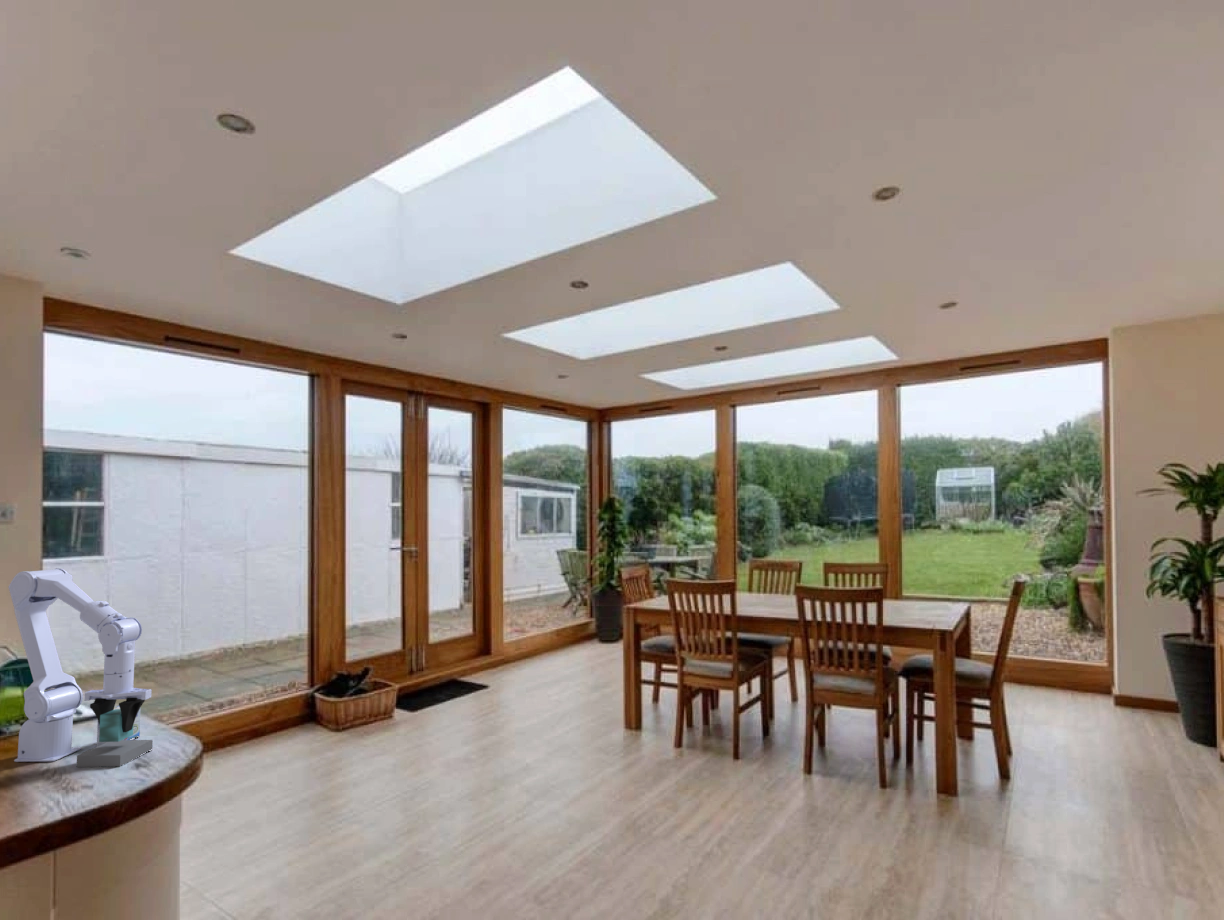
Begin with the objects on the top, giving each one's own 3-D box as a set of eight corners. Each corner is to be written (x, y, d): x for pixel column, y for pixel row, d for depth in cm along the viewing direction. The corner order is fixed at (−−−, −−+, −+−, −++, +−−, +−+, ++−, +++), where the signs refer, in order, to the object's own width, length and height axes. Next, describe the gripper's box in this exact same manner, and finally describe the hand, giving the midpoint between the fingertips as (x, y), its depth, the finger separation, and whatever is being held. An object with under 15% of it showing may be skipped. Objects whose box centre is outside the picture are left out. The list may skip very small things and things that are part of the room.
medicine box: (110, 748, 159) (112, 712, 160) (95, 747, 160) (97, 711, 161) (140, 737, 167) (141, 702, 168) (125, 736, 168) (127, 702, 169)
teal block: (99, 741, 151) (100, 715, 151) (114, 735, 155) (115, 709, 156) (118, 741, 151) (119, 714, 151) (133, 735, 155) (134, 709, 156)
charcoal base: (76, 766, 148) (77, 755, 148) (111, 750, 158) (111, 740, 158) (119, 766, 147) (120, 755, 148) (152, 750, 157) (152, 739, 158)
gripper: (74, 676, 150) (71, 737, 149) (136, 675, 150) (134, 736, 149) (99, 669, 157) (96, 727, 156) (158, 668, 157) (156, 726, 156)
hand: (116, 731), depth 153 cm, fingers closed on teal block, 4 cm apart
